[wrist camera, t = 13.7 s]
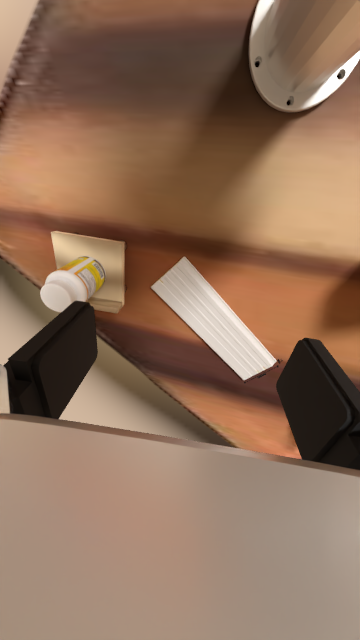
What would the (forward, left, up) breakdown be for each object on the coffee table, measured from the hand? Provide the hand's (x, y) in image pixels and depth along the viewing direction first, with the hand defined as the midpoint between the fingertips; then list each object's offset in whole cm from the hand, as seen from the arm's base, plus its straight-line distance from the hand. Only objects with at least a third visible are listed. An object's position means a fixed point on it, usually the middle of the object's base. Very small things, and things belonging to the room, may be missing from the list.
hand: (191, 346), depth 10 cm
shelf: (+8, -17, -30) cm, 36 cm away
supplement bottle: (+8, -17, -26) cm, 32 cm away
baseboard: (+16, +7, -31) cm, 36 cm away
